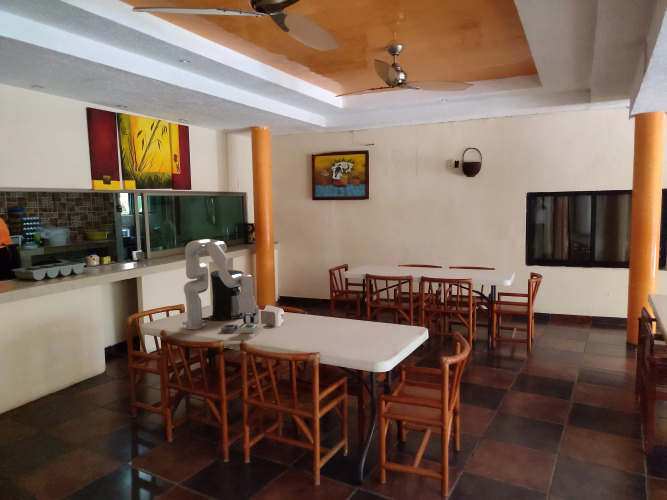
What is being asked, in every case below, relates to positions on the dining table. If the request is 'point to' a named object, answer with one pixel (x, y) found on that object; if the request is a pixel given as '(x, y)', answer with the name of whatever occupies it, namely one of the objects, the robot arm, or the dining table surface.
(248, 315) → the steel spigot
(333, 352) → the dining table surface
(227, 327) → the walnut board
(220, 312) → the coffee maker
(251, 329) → the dock socket
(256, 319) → the supplement box
